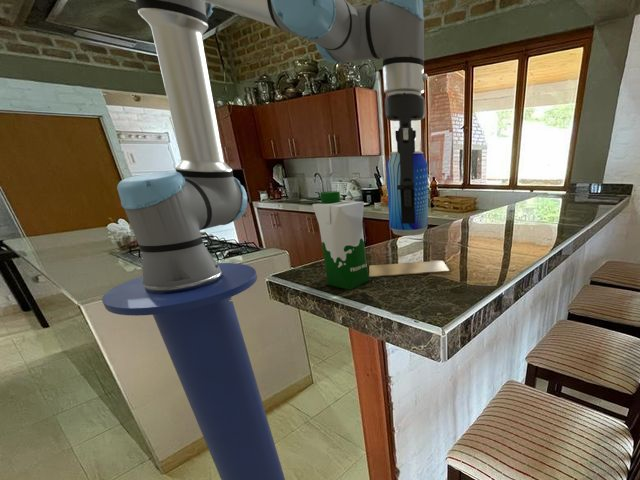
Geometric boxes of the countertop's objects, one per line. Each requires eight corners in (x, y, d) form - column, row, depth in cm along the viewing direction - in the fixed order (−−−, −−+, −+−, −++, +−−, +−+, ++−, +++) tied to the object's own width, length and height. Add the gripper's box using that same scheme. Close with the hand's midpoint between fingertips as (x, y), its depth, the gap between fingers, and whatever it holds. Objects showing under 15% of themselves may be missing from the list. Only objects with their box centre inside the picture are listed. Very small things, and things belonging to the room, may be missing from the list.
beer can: (405, 227, 79) (403, 152, 72) (435, 231, 75) (435, 151, 68) (382, 233, 73) (376, 152, 66) (412, 238, 69) (410, 151, 62)
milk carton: (347, 274, 84) (336, 190, 75) (375, 280, 79) (367, 191, 71) (321, 285, 77) (306, 194, 69) (350, 292, 73) (338, 195, 64)
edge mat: (369, 277, 81) (369, 276, 81) (369, 266, 89) (369, 265, 89) (449, 271, 84) (449, 270, 84) (442, 261, 92) (442, 260, 92)
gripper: (427, 84, 53) (428, 228, 63) (422, 103, 72) (423, 211, 82) (380, 85, 53) (388, 229, 63) (387, 103, 72) (392, 212, 82)
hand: (408, 219), depth 73 cm, fingers closed on beer can, 8 cm apart
